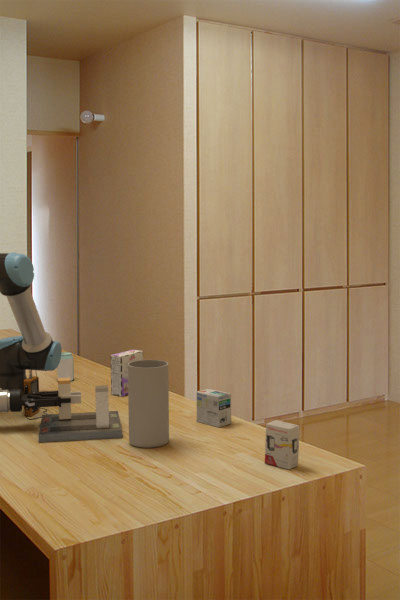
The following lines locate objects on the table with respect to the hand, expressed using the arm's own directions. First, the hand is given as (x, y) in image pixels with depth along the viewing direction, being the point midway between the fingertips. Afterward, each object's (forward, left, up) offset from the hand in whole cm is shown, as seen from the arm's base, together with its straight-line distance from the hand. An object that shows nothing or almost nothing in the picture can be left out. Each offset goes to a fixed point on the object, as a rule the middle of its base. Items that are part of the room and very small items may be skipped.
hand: (80, 397), depth 236 cm
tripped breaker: (0, -5, -7) cm, 9 cm away
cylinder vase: (+23, +21, -10) cm, 32 cm away
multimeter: (-16, -14, -10) cm, 23 cm away
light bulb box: (+6, +45, -10) cm, 46 cm away
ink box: (+50, +56, -10) cm, 76 cm away
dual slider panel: (+5, 0, -10) cm, 11 cm away
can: (-68, -6, -10) cm, 69 cm away
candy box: (-42, +19, -10) cm, 47 cm away
